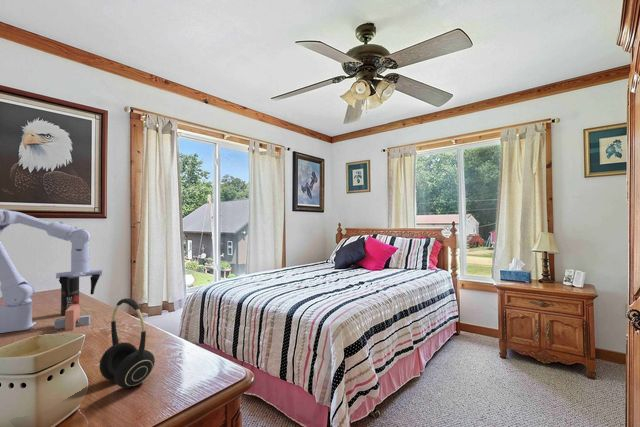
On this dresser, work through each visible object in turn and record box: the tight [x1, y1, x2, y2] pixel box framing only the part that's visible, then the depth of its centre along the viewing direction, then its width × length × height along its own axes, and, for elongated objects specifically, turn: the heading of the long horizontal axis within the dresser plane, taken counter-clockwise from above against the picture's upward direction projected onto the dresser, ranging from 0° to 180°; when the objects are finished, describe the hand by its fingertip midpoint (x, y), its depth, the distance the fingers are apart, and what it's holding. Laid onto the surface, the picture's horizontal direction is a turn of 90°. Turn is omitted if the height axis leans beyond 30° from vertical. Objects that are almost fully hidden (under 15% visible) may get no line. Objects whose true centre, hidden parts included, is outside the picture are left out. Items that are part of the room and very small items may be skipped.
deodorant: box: [60, 277, 80, 317], centre depth 131 cm, size 6×6×15 cm
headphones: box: [99, 298, 156, 389], centre depth 75 cm, size 9×15×20 cm, turn 58°
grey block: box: [54, 314, 91, 330], centre depth 115 cm, size 10×2×3 cm, turn 117°
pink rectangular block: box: [64, 302, 81, 331], centre depth 115 cm, size 2×10×7 cm, turn 27°
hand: (80, 295), depth 121 cm, fingers open, 7 cm apart
